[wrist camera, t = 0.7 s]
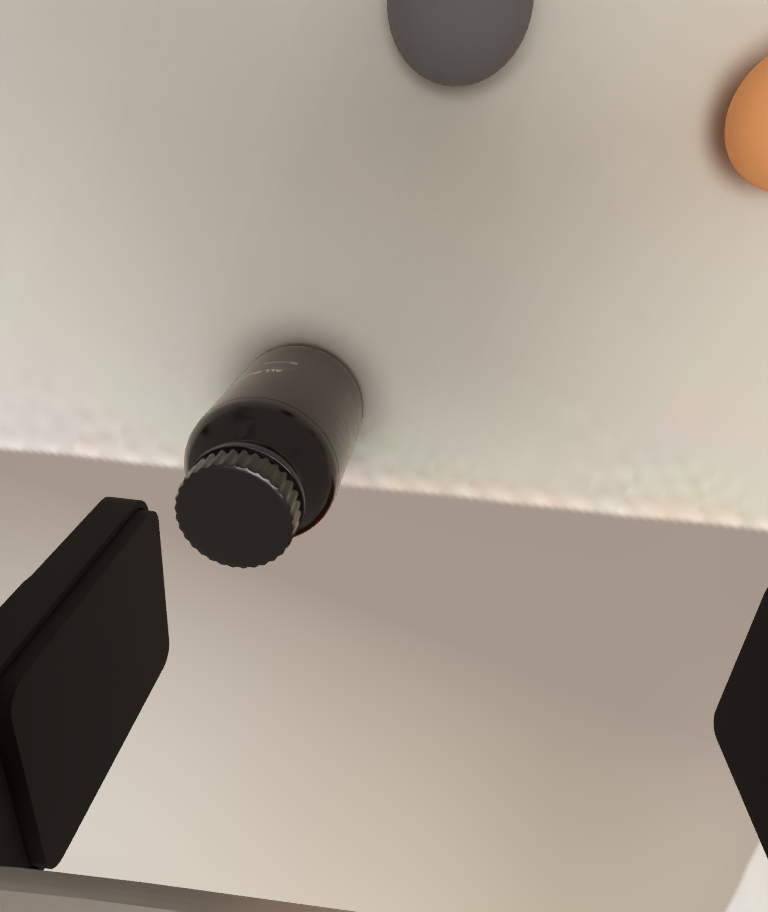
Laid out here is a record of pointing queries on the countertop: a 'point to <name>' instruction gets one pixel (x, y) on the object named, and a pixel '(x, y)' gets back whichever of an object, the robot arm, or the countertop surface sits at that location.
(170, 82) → the countertop surface
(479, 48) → the grey rubber ball
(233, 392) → the supplement bottle
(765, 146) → the orange ball
